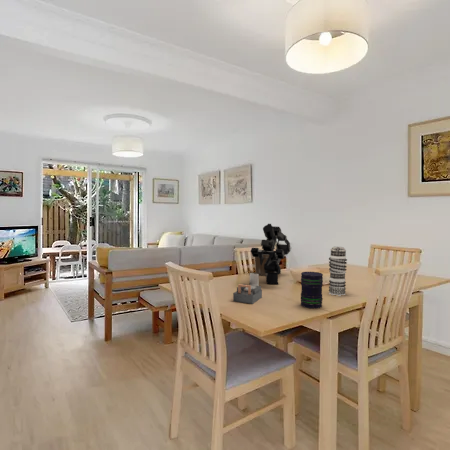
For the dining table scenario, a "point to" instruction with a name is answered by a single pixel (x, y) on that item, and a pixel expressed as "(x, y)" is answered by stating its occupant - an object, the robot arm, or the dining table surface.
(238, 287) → the lug
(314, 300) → the storage jar
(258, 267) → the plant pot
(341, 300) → the dining table surface
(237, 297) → the grey walled tray
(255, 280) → the tapered wooden notched block
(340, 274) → the decorative candle
